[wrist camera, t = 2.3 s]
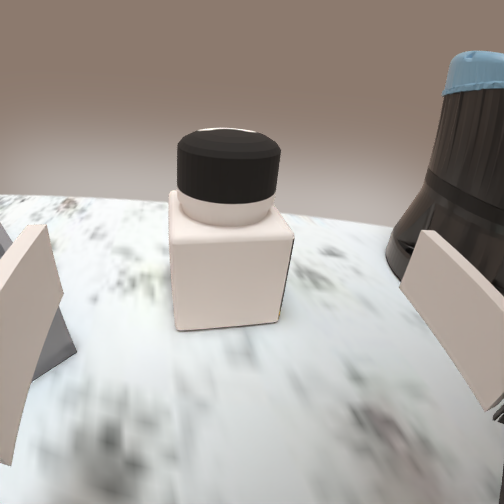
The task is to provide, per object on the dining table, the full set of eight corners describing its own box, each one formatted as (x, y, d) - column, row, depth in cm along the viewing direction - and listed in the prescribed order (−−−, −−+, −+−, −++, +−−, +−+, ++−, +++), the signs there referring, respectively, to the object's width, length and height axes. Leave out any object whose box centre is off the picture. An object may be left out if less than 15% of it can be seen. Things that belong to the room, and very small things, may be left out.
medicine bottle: (279, 323, 22) (311, 150, 15) (175, 333, 20) (166, 147, 14) (255, 265, 28) (271, 125, 21) (171, 270, 26) (168, 122, 19)
